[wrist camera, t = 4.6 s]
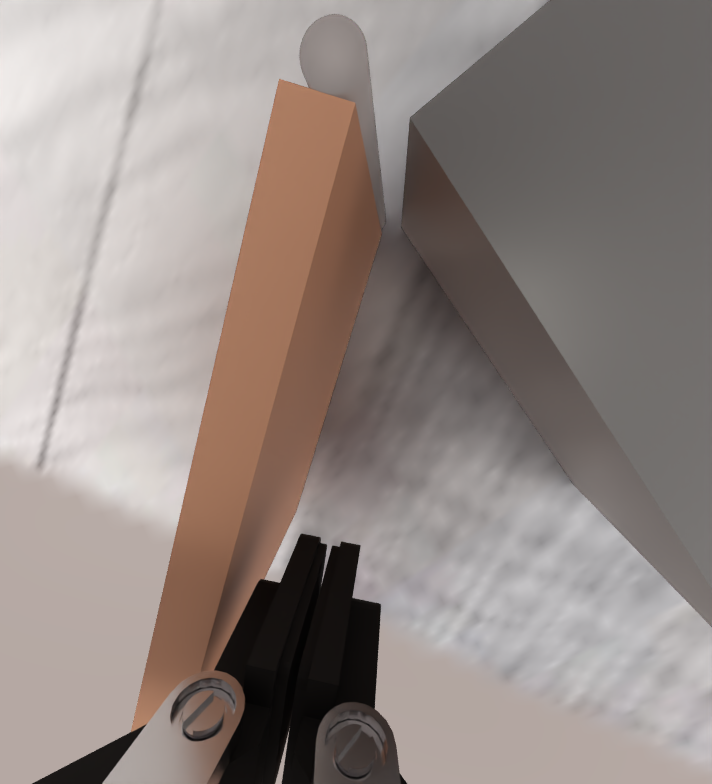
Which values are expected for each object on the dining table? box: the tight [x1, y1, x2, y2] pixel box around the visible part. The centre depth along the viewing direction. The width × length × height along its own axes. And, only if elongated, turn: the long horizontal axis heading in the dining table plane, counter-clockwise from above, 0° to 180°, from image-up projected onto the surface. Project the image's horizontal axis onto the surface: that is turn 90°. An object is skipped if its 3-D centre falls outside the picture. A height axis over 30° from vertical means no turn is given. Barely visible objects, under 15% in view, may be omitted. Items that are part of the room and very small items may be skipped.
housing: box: [401, 0, 712, 627], centre depth 12 cm, size 11×15×12 cm
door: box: [131, 14, 386, 732], centre depth 13 cm, size 2×15×12 cm, turn 163°
